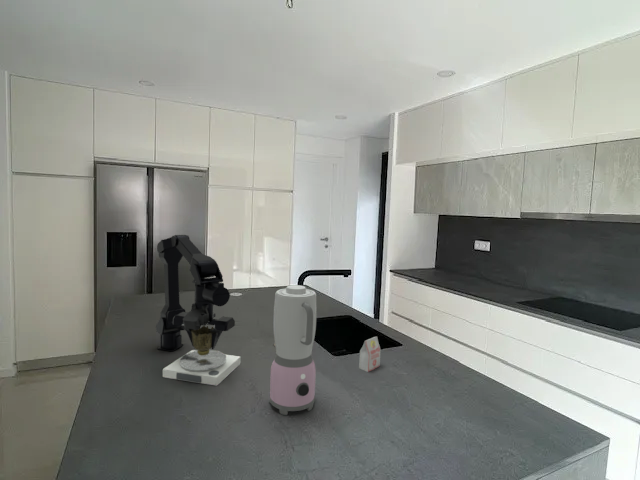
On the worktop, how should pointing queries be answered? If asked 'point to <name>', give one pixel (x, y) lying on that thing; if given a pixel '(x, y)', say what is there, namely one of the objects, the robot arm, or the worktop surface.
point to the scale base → (202, 376)
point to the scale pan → (203, 361)
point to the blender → (293, 350)
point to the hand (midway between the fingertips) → (203, 347)
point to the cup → (202, 340)
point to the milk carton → (370, 355)
